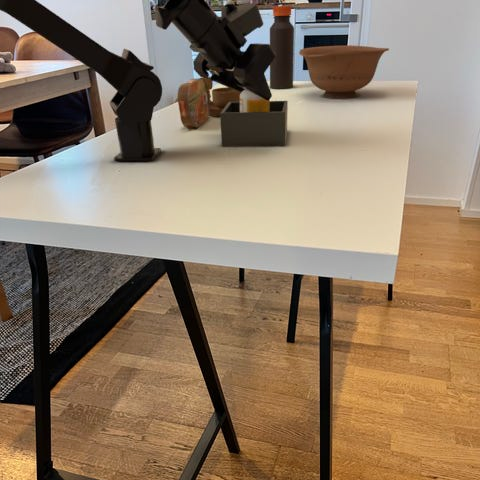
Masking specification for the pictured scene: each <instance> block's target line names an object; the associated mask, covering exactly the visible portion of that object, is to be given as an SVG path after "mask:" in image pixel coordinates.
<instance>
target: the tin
mask: <svg viewBox="0 0 480 480" xmlns="http://www.w3.org/2000/svg"><path fill="white" fill-rule="evenodd" d="M177 104H178V109H179V115H180V121H181V123H182V125H183V126H184V128H187V129H189V128H191V129H192V128H197V129H198V128H200V127H201V126H202V125H203V124H204V123H205V122H206V121H207V120H208V119H209V116H210V115H209V109H210V105H209V94H208V88H207V85H206V82H205V80H204V79H203V77H199V78H190V79H189V80H187V81H186V82H184V83H181V84H180V86H179V87H178V90H177Z"/></svg>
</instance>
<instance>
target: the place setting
mask: <svg viewBox="0 0 480 480" xmlns="http://www.w3.org/2000/svg"><path fill="white" fill-rule="evenodd" d="M210 77H211V76H208V78H204V77H202V78H203V79H204V80H205V82H206V85H207V88H208V94H209V105H210V109H209V116H213V117H220V113H221V112H222V110H223V109H224V108H225V106H226V105H227V104H228V103H229V102H240V94H241V92H238V91H236V90H234V89H231V88H229V87H226V86H225V87H218V88H213V87H214V85H213V83H214V81H211V80H210Z"/></svg>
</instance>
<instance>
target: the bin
mask: <svg viewBox="0 0 480 480" xmlns="http://www.w3.org/2000/svg"><path fill="white" fill-rule="evenodd" d="M288 102H289V101H288V100H270V112H240V102H229V103H228V104H227V105H226V106H225V108H224V109H223V110H222V112H221V113H220V116H219V119H220V136H221V137H220V138H221V147H285V146H286V142H287V136H288V109H289V107H288Z"/></svg>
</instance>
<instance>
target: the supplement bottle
mask: <svg viewBox="0 0 480 480" xmlns="http://www.w3.org/2000/svg"><path fill="white" fill-rule="evenodd" d="M270 101H271V99H270V100H266V99H263V98H261V97H259V96H257V95H255V94H253V93H251V92H249V91H247V90H244V91H242V92H241V94H240V112H270Z"/></svg>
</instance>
